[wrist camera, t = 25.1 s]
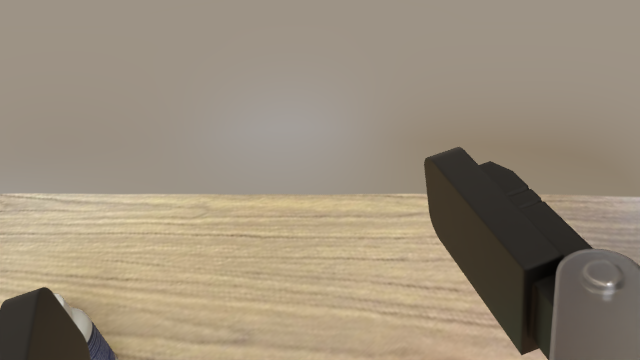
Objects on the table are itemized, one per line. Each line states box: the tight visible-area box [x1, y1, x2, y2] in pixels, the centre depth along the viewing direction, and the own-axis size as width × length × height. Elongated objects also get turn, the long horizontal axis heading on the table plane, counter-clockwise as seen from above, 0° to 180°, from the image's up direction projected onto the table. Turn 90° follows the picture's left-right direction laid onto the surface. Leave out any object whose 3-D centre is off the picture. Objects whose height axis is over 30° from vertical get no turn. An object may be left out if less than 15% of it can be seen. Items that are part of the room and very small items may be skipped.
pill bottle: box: [53, 293, 119, 360], centre depth 44 cm, size 5×5×10 cm
